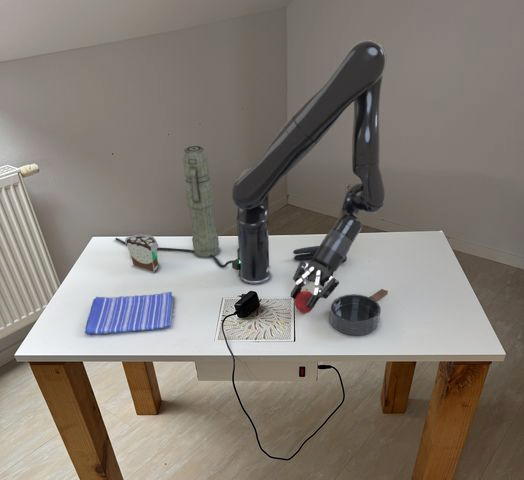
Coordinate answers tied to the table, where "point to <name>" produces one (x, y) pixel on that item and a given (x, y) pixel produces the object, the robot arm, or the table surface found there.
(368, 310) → the pan
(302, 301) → the onion
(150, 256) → the cake slice
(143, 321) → the dish towel
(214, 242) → the thermos
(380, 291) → the pan handle
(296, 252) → the can opener
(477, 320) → the table surface
